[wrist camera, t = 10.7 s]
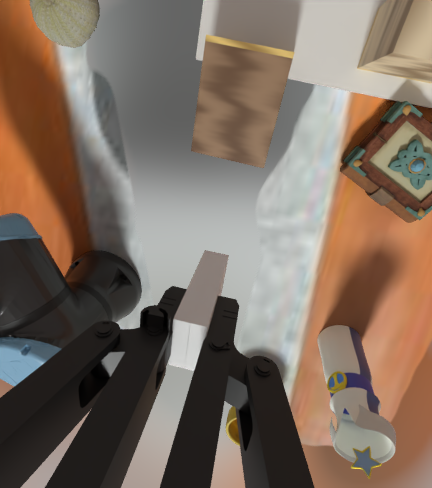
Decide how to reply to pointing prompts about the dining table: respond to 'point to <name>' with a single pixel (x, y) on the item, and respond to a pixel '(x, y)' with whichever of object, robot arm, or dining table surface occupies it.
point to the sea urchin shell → (66, 20)
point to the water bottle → (354, 401)
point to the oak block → (401, 40)
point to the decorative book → (396, 162)
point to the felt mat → (312, 41)
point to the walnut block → (239, 99)
